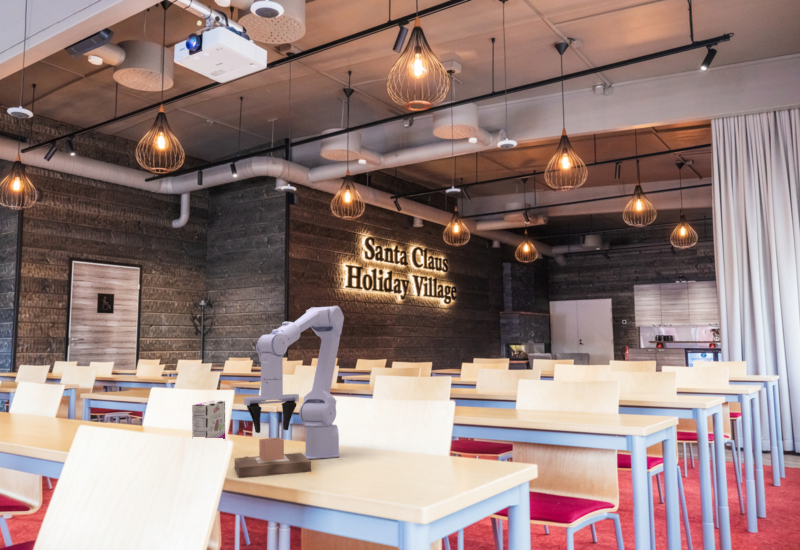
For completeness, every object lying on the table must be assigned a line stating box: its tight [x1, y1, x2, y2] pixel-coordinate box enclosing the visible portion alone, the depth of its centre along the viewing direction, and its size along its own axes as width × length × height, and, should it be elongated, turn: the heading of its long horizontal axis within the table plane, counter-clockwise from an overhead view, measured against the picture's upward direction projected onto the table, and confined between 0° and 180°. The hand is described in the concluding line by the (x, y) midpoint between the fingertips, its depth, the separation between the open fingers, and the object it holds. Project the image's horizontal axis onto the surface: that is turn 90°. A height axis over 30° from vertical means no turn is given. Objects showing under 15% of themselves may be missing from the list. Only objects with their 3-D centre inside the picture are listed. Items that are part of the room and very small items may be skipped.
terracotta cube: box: [258, 437, 285, 461], centre depth 164 cm, size 5×5×5 cm
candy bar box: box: [191, 400, 226, 440], centre depth 181 cm, size 11×5×16 cm, turn 168°
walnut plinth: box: [234, 452, 312, 479], centre depth 164 cm, size 18×14×3 cm
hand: (271, 431), depth 164 cm, fingers open, 7 cm apart
